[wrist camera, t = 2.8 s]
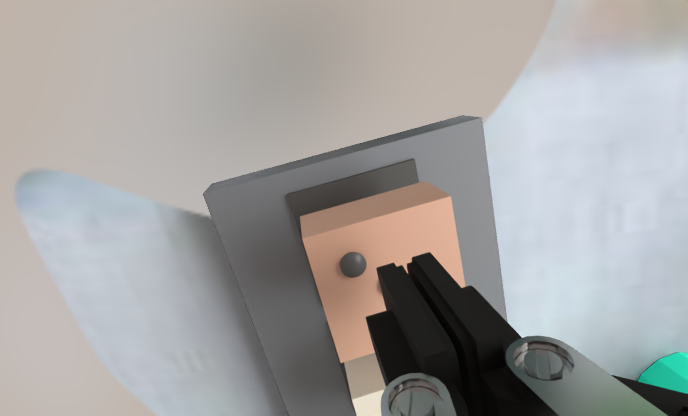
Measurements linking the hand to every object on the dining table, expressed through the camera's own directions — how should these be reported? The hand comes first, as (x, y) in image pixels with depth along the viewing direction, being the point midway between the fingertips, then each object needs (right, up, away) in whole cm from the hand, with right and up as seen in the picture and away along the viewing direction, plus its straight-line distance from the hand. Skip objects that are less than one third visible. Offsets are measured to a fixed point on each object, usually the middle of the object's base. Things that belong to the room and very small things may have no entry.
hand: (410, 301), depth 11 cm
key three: (-1, +1, +4) cm, 4 cm away
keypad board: (0, -4, +11) cm, 12 cm away
